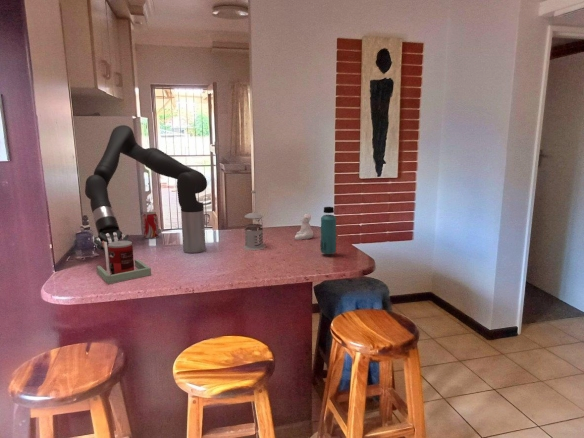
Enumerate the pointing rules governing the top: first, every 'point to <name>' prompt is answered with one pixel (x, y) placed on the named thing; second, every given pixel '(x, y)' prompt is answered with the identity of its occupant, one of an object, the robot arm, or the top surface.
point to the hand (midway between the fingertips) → (117, 259)
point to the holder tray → (141, 272)
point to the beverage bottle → (328, 232)
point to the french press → (254, 232)
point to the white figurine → (304, 229)
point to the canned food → (121, 256)
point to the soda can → (150, 225)
